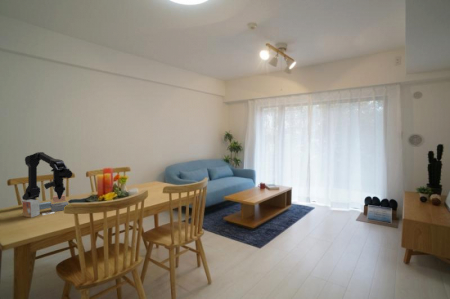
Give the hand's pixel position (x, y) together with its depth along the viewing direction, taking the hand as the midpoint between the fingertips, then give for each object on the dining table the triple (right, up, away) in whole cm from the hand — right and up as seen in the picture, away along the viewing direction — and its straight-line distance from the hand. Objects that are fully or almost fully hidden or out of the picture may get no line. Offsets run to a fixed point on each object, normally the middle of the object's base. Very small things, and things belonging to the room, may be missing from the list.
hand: (59, 198), depth 169 cm
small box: (-10, -10, -12) cm, 19 cm away
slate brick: (-14, -8, +4) cm, 17 cm away
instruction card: (-2, -9, -8) cm, 12 cm away
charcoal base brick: (0, -8, 0) cm, 8 cm away
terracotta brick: (0, -2, 0) cm, 2 cm away
